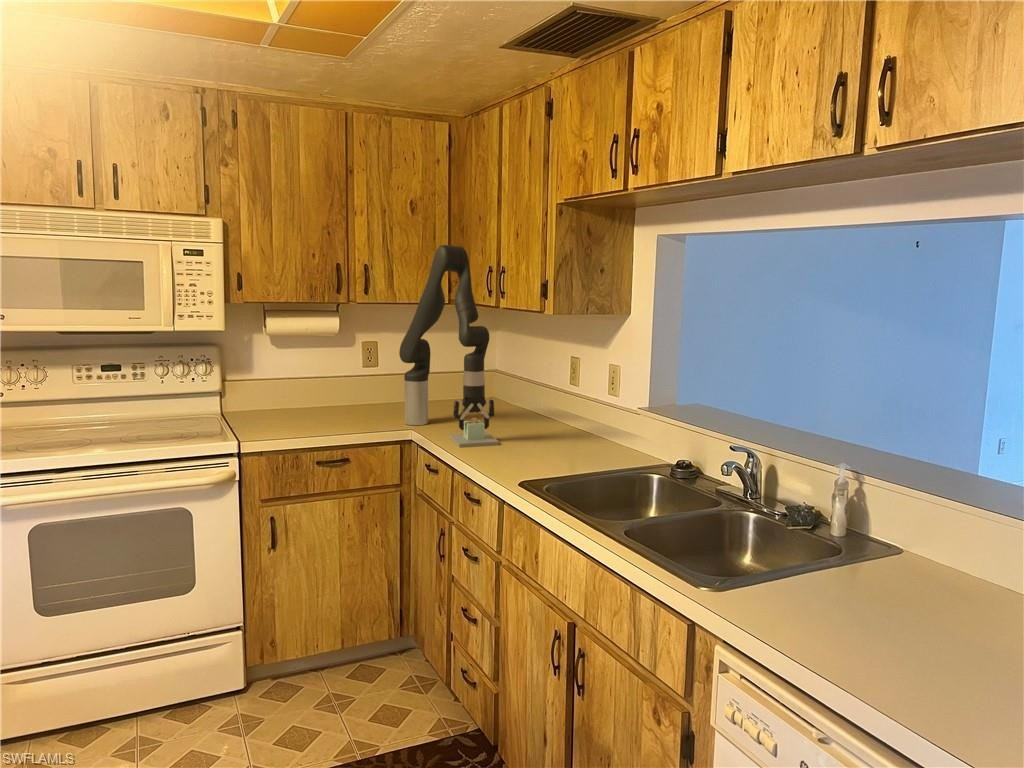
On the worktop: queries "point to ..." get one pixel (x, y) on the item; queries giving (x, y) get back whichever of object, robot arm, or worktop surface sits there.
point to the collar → (474, 430)
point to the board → (463, 442)
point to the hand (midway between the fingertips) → (473, 429)
